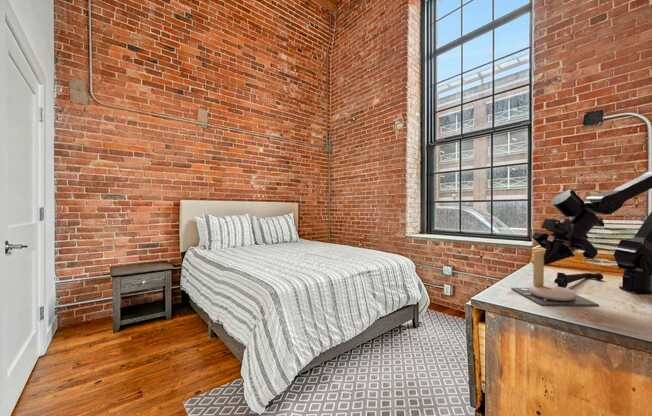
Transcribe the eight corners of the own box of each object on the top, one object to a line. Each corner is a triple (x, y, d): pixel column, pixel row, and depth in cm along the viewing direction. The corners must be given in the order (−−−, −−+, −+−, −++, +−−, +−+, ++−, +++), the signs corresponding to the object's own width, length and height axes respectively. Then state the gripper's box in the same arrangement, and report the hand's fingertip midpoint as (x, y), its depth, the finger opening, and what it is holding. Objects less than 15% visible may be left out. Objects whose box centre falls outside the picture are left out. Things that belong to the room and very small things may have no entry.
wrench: (604, 285, 106) (572, 292, 90) (586, 282, 110) (552, 289, 94) (604, 270, 106) (572, 275, 90) (585, 268, 111) (552, 272, 94)
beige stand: (551, 287, 95) (552, 249, 95) (585, 299, 84) (586, 255, 84) (520, 289, 94) (520, 250, 94) (550, 301, 83) (551, 257, 83)
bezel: (559, 289, 96) (559, 286, 96) (599, 306, 81) (599, 303, 81) (510, 289, 97) (510, 286, 97) (540, 305, 82) (540, 302, 82)
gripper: (537, 208, 102) (505, 241, 102) (588, 210, 83) (550, 251, 83) (558, 230, 103) (528, 263, 102) (614, 238, 84) (577, 278, 84)
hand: (543, 263), depth 93 cm, fingers closed, pressing on beige stand
